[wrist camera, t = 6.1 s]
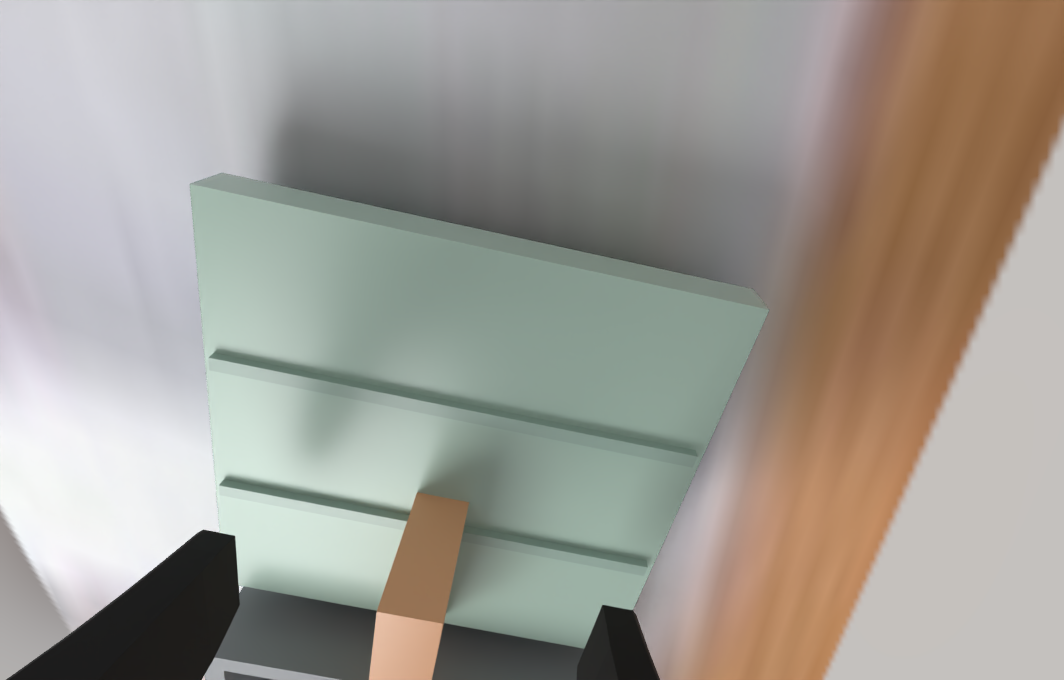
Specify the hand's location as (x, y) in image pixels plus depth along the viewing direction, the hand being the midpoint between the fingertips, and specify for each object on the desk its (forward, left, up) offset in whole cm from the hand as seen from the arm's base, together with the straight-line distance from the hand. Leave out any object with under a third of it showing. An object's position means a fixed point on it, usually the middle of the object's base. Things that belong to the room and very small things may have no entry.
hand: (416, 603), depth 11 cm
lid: (+2, 0, -4) cm, 4 cm away
